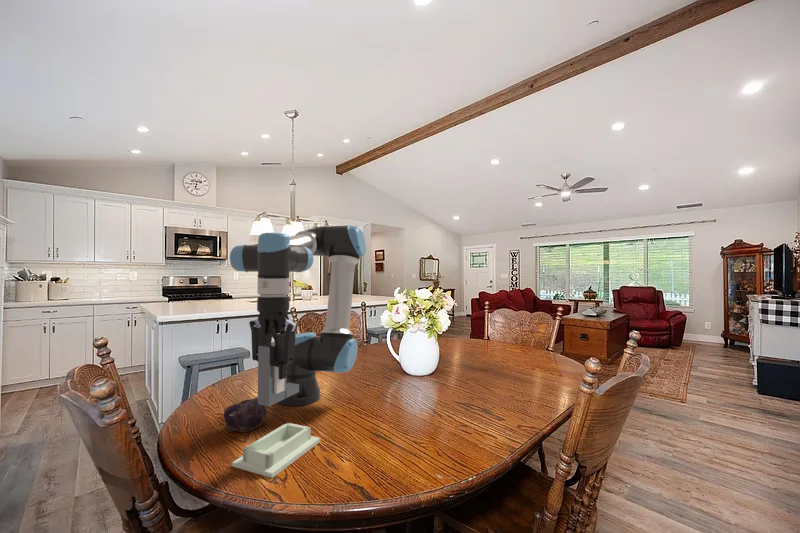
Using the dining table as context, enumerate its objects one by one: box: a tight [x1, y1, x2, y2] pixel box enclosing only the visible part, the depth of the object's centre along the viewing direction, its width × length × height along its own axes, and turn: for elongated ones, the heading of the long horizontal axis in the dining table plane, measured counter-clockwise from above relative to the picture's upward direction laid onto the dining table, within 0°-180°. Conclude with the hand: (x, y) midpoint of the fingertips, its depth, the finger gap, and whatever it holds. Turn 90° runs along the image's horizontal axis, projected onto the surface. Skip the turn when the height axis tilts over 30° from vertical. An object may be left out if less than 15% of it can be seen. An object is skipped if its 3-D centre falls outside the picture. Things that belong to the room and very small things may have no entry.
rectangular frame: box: [231, 422, 321, 479], centre depth 88 cm, size 12×18×4 cm, turn 158°
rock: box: [223, 396, 269, 433], centre depth 102 cm, size 12×9×10 cm
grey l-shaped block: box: [257, 341, 299, 407], centre depth 89 cm, size 4×11×14 cm, turn 158°
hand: (272, 390), depth 86 cm, fingers closed on grey l-shaped block, 3 cm apart
